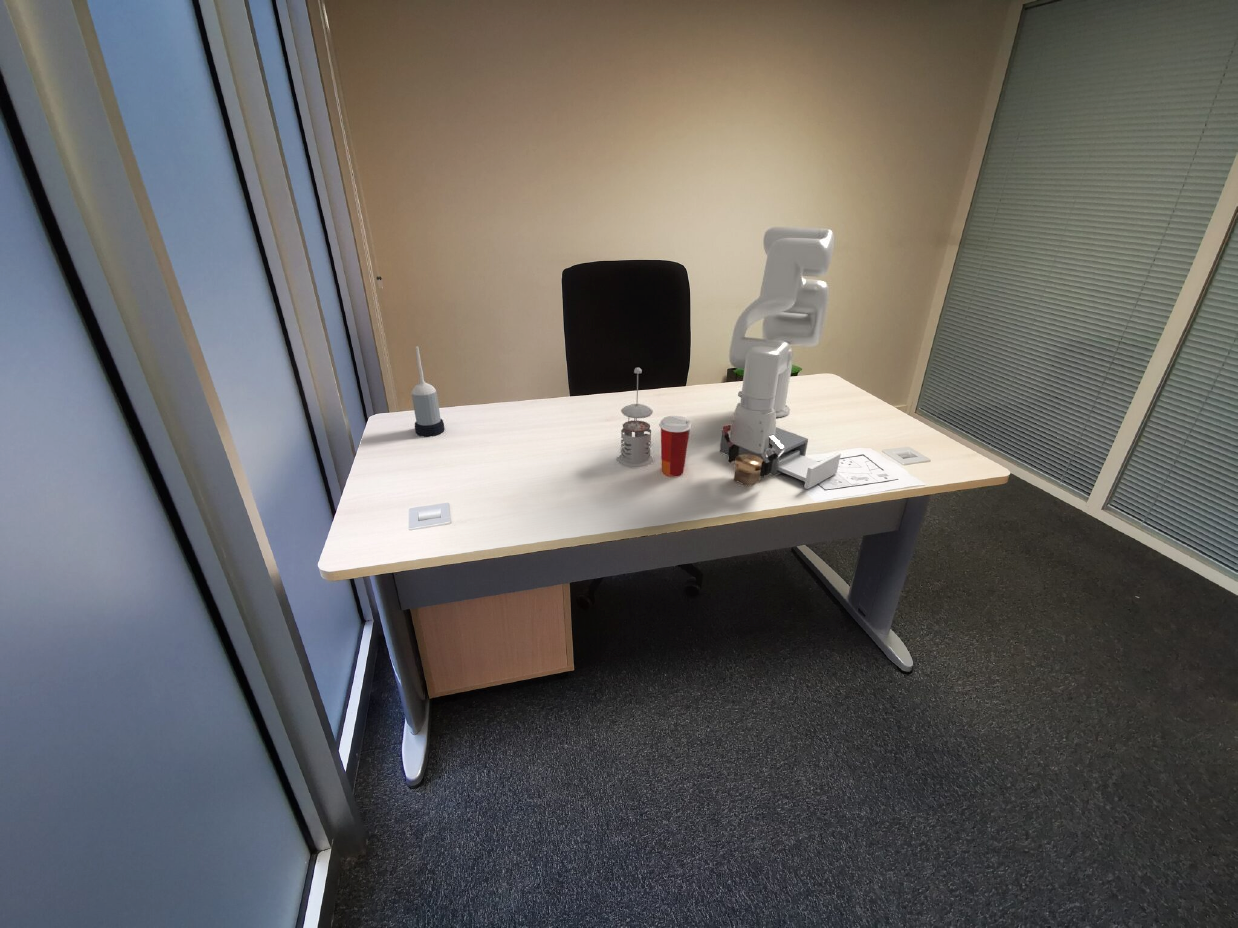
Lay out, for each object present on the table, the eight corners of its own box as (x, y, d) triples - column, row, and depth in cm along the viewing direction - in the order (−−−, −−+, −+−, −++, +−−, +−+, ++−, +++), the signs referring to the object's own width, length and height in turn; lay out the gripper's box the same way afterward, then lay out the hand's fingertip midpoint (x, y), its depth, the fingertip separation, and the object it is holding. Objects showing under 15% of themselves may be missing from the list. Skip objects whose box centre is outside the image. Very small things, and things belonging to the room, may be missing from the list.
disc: (728, 467, 132) (728, 459, 131) (745, 459, 136) (746, 451, 135) (751, 477, 127) (752, 470, 126) (769, 469, 131) (770, 461, 130)
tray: (746, 462, 141) (749, 443, 139) (776, 448, 149) (778, 431, 147) (807, 489, 129) (811, 469, 127) (836, 472, 137) (840, 453, 134)
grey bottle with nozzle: (444, 424, 163) (431, 342, 151) (445, 435, 156) (432, 349, 145) (415, 427, 161) (401, 344, 149) (415, 438, 154) (400, 352, 142)
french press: (620, 468, 138) (621, 374, 127) (613, 449, 148) (614, 360, 137) (657, 466, 140) (662, 373, 128) (648, 447, 150) (651, 359, 138)
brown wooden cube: (733, 479, 134) (735, 467, 132) (745, 474, 136) (746, 462, 135) (748, 486, 130) (750, 474, 129) (759, 481, 133) (761, 468, 131)
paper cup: (690, 467, 139) (694, 417, 133) (683, 481, 133) (687, 428, 126) (661, 462, 141) (663, 413, 135) (653, 475, 135) (655, 424, 129)
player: (719, 451, 148) (722, 428, 145) (749, 439, 155) (752, 417, 152) (775, 475, 136) (779, 451, 132) (804, 461, 143) (808, 437, 140)
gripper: (717, 395, 127) (711, 460, 135) (779, 416, 116) (768, 486, 123) (737, 388, 132) (730, 452, 139) (799, 408, 120) (787, 476, 128)
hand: (748, 468), depth 131 cm, fingers open, 9 cm apart
